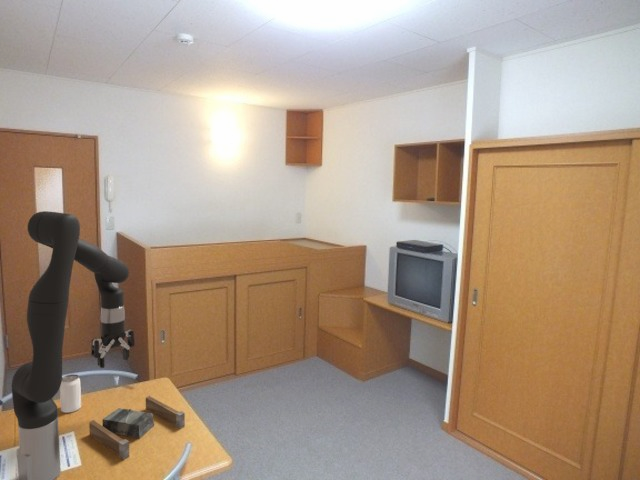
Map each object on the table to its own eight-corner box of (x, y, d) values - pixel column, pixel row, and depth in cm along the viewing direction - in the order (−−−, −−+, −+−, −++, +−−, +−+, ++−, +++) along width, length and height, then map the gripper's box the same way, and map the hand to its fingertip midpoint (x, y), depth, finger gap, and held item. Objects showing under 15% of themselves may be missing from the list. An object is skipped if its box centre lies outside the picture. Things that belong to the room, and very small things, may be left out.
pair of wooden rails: (123, 459, 127) (122, 444, 127) (88, 435, 138) (88, 421, 138) (184, 426, 146) (184, 412, 145) (150, 407, 157) (149, 394, 156)
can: (56, 411, 152) (54, 380, 150) (71, 402, 158) (70, 372, 156) (70, 415, 150) (69, 383, 148) (85, 406, 156) (84, 375, 154)
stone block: (121, 418, 150) (120, 404, 149) (156, 425, 146) (156, 411, 146) (102, 432, 141) (102, 417, 140) (139, 440, 138) (139, 425, 137)
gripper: (97, 326, 137) (99, 373, 139) (138, 316, 149) (138, 359, 151) (86, 321, 141) (87, 367, 143) (126, 311, 153) (127, 354, 155)
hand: (113, 363), depth 147 cm, fingers open, 8 cm apart
